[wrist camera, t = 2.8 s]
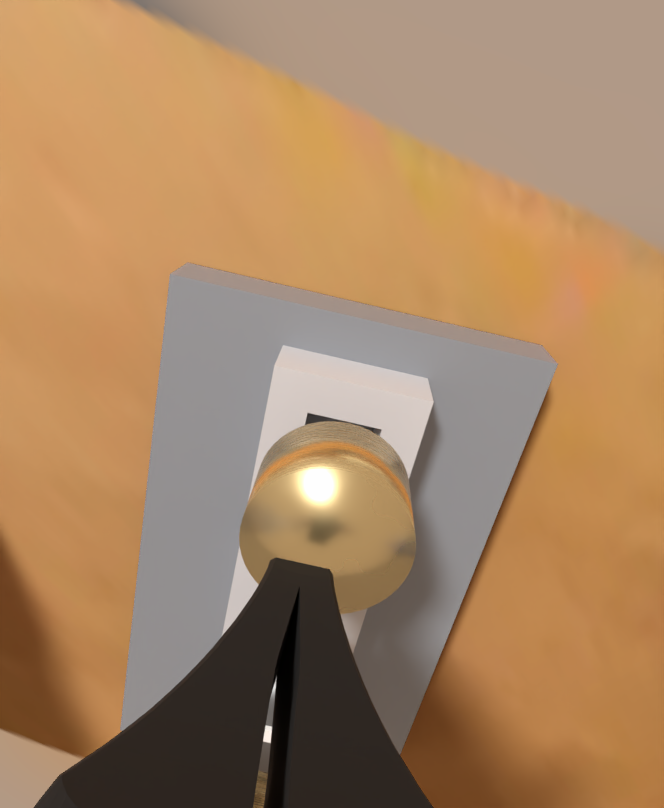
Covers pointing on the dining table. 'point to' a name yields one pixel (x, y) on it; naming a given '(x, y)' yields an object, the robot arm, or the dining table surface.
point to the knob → (333, 511)
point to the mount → (304, 404)
